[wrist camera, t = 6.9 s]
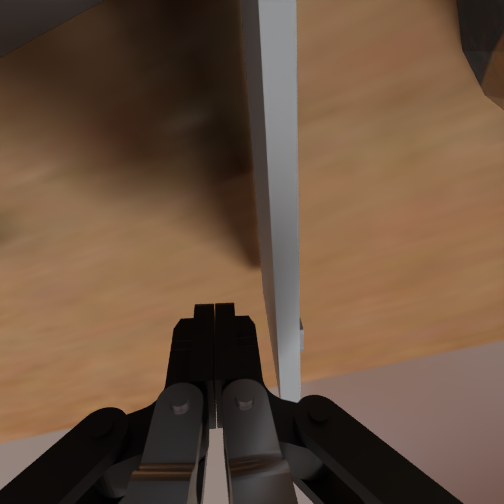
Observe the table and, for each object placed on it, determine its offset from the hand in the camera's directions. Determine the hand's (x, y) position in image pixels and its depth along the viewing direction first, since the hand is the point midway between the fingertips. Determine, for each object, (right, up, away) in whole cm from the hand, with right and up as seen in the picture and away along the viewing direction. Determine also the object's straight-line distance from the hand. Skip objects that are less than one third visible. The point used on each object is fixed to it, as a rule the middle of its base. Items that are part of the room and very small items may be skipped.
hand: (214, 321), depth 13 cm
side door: (+2, +7, +2) cm, 7 cm away
